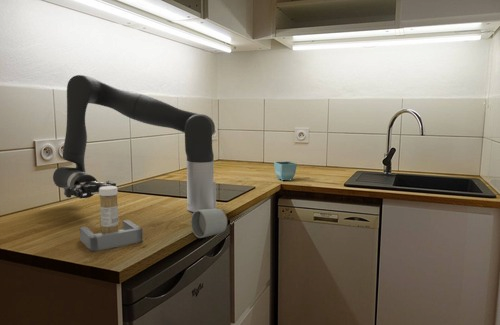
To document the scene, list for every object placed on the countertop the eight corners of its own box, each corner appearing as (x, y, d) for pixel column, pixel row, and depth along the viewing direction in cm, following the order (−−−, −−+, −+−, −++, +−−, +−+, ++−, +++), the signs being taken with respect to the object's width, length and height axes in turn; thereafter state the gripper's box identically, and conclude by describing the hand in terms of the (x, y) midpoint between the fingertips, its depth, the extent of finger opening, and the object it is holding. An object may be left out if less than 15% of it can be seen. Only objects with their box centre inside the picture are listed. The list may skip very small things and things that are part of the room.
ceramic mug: (229, 234, 109) (229, 208, 108) (206, 241, 104) (205, 213, 103) (207, 227, 117) (206, 202, 116) (184, 232, 111) (183, 206, 110)
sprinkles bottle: (114, 232, 107) (112, 184, 105) (122, 236, 104) (120, 187, 102) (97, 236, 103) (95, 187, 102) (106, 240, 100) (104, 189, 98)
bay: (128, 231, 111) (128, 219, 111) (142, 241, 103) (142, 228, 102) (80, 240, 103) (79, 227, 103) (91, 251, 95) (90, 238, 94)
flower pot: (296, 181, 193) (297, 163, 192) (280, 182, 190) (281, 164, 189) (288, 178, 201) (289, 161, 200) (273, 179, 198) (273, 161, 197)
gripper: (57, 175, 120) (69, 182, 107) (104, 170, 128) (121, 177, 115) (58, 198, 121) (71, 209, 108) (105, 193, 129) (122, 202, 116)
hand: (97, 192), depth 112 cm, fingers open, 8 cm apart
